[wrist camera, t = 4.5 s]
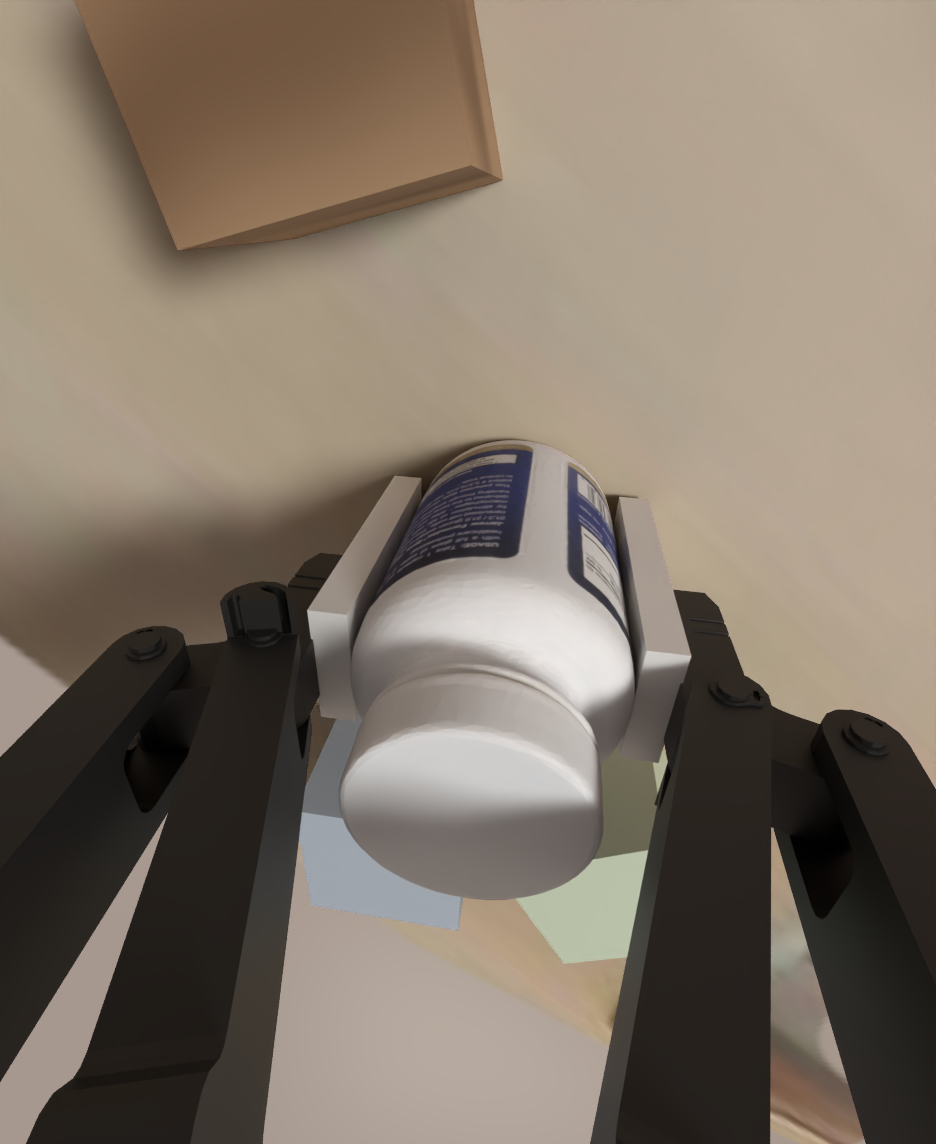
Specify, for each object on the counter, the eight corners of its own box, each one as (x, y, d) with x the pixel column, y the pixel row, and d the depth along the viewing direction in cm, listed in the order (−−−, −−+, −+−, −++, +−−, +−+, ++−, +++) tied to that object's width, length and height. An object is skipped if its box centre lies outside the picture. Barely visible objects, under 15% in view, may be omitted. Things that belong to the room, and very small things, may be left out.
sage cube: (511, 746, 22) (498, 875, 18) (644, 712, 20) (665, 846, 16) (564, 829, 24) (564, 963, 20) (690, 806, 22) (719, 947, 18)
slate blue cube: (348, 693, 22) (294, 810, 17) (484, 711, 21) (463, 837, 17) (356, 784, 24) (311, 905, 20) (478, 802, 24) (457, 930, 19)
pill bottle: (403, 571, 18) (268, 867, 10) (451, 406, 15) (315, 633, 7) (568, 626, 18) (568, 961, 10) (646, 474, 16) (732, 770, 7)
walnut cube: (203, -49, 12) (-8, -198, 7) (448, -153, 10) (365, -402, 6) (295, 238, 14) (177, 250, 10) (503, 179, 13) (470, 165, 9)
